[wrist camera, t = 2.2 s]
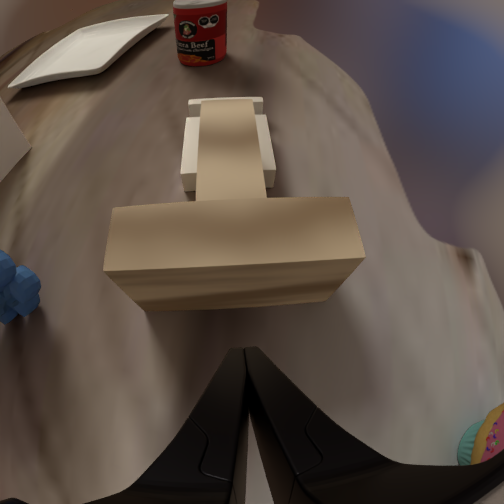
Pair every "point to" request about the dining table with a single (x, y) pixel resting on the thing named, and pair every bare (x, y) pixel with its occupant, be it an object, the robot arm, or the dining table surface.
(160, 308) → the t block
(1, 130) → the milk
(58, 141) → the dining table surface
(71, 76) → the square plate
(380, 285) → the dining table surface
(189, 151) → the slot guide
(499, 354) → the dining table surface
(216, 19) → the canned food
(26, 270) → the grapes
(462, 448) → the cupcake
